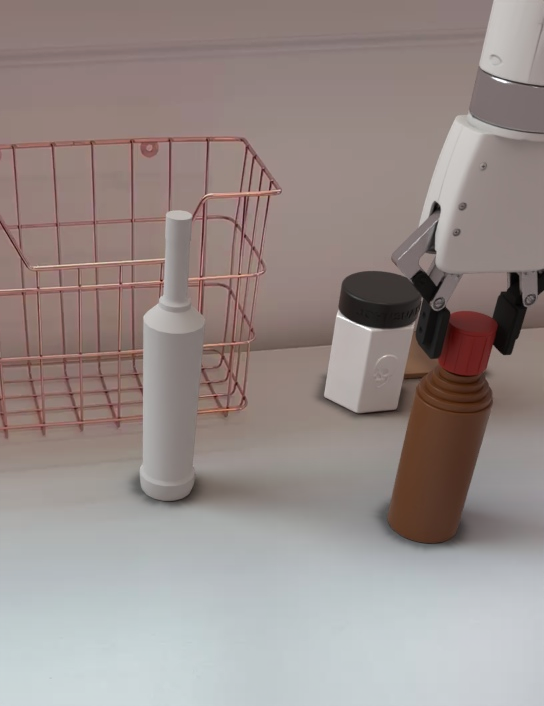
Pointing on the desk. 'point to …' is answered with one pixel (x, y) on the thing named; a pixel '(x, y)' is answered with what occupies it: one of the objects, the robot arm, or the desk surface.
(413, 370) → the coaster
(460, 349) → the cap
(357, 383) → the jar
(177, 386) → the bottle
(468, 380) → the bottle
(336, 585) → the desk surface
